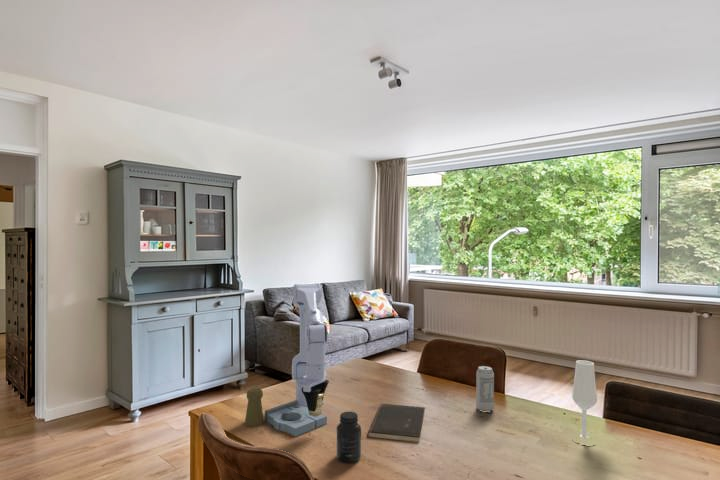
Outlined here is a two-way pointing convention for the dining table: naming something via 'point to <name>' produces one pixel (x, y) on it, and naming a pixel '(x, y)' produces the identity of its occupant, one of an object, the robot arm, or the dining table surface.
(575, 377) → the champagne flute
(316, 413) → the cylinder
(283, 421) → the block
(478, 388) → the energy drink can
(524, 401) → the dining table surface
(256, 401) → the olive green tapered piece
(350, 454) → the supplement bottle
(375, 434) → the hardcover book
